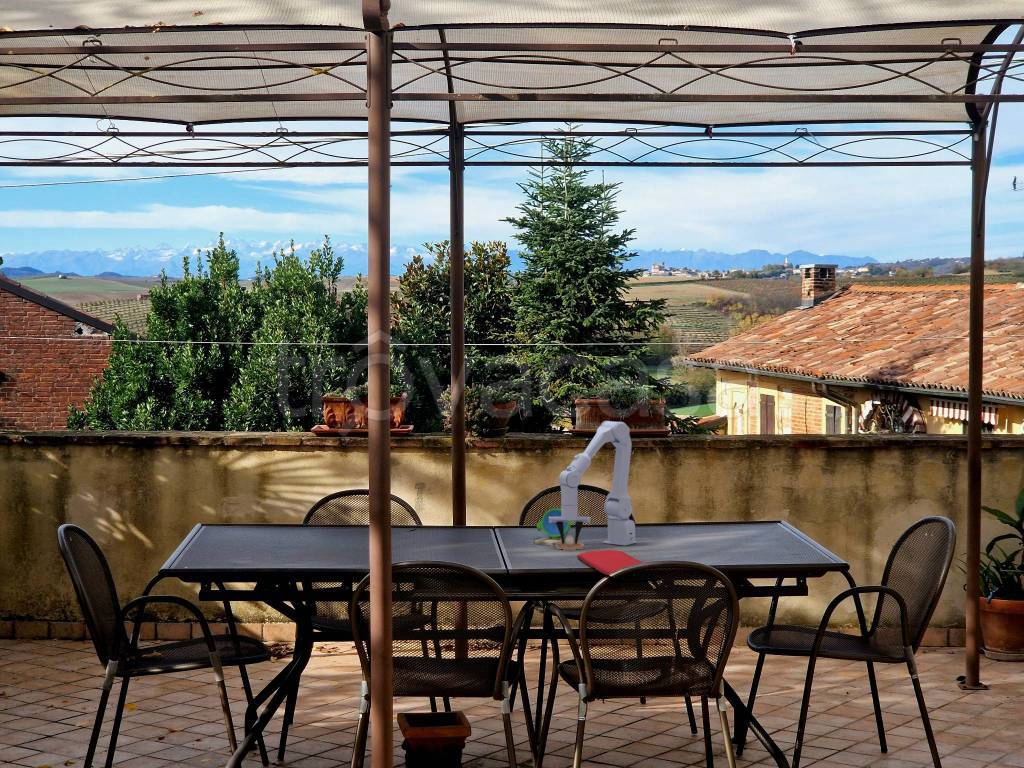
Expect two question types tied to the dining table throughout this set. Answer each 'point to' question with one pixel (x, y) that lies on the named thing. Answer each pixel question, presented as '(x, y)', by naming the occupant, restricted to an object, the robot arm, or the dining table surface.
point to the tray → (548, 541)
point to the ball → (569, 540)
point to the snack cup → (552, 524)
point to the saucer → (565, 547)
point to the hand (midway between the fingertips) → (569, 543)
